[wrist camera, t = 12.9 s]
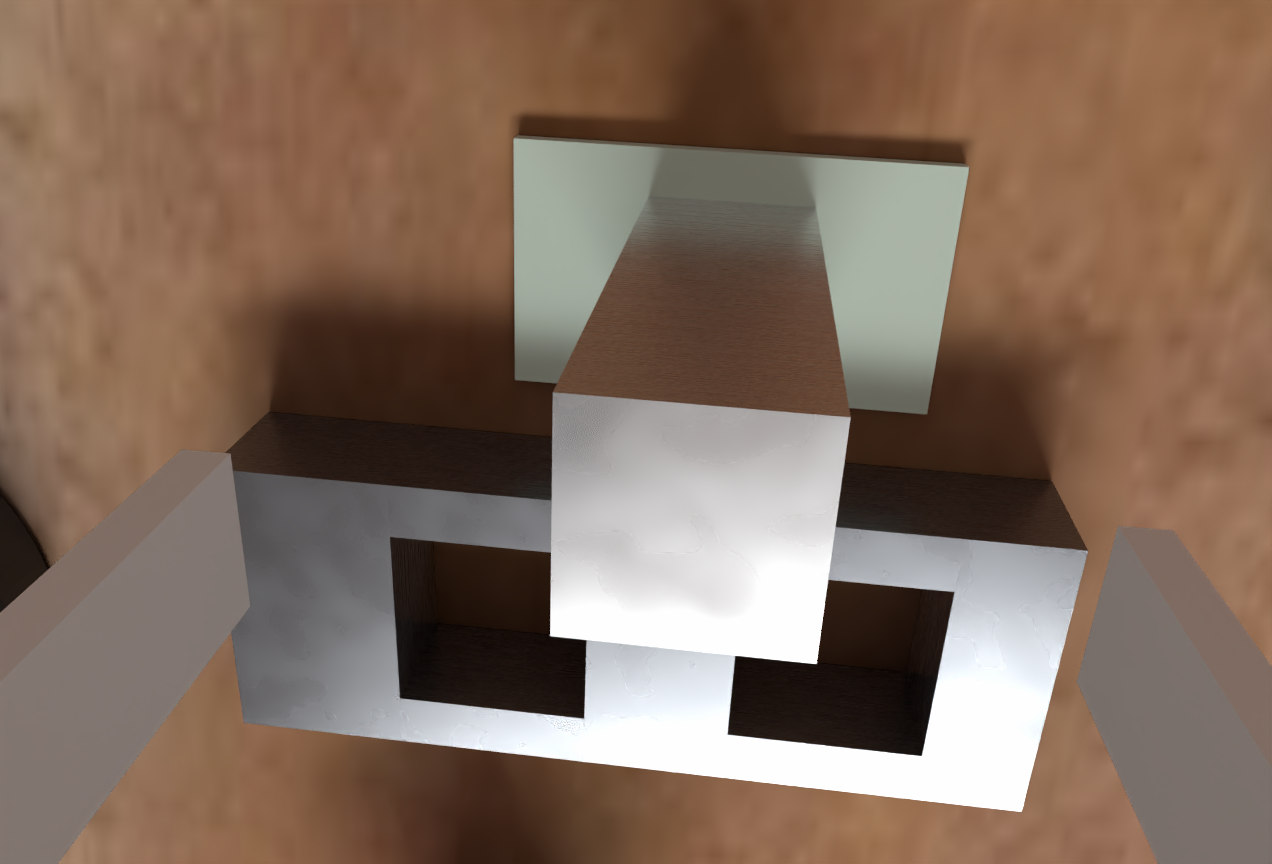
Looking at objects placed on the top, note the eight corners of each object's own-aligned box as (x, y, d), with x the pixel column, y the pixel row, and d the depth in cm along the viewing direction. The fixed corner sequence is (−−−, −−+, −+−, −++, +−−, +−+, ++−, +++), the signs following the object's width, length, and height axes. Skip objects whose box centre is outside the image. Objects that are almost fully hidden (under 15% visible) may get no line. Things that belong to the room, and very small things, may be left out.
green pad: (518, 373, 32) (515, 379, 32) (517, 134, 29) (513, 138, 29) (924, 407, 31) (926, 414, 31) (966, 163, 28) (969, 167, 28)
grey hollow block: (295, 647, 37) (243, 722, 34) (268, 411, 34) (208, 468, 30) (996, 722, 35) (1021, 811, 32) (1051, 481, 32) (1088, 550, 28)
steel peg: (641, 351, 31) (550, 635, 18) (648, 195, 29) (552, 391, 16) (798, 364, 30) (816, 664, 18) (816, 207, 29) (850, 417, 16)
